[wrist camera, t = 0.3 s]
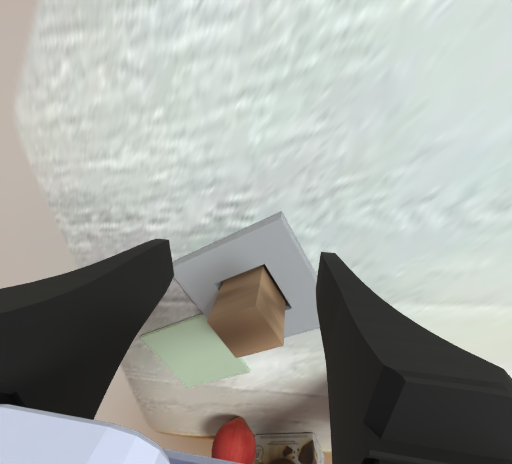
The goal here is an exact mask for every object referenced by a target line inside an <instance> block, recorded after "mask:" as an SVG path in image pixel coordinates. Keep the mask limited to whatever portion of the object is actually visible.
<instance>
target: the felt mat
mask: <svg viewBox="0 0 512 464" xmlns="http://www.w3.org/2000/svg"><path fill="white" fill-rule="evenodd" d="M207 320H208V319H207V318H206V317H205V316H204V314H200V315H198V316H195V317H192V318H189V319H186V320H183V321H181V322H178V323H175V324H172V325H169V326H166V327H164V328H161V329H158V330H155V331H152V332H149V333H147V334H144V335H141V337H140V339H141V340H142V341H143V342H144V343H145V344H146V345H147V346H148V347H149V348H150V349H151V350H152V351H153V352H154V354H155V355H156V356H157V357H158V358H159V359H160V360H161V361H162V362H163V363H164V364H165V365H166V366H167V367H168V368H169V369H170V370H171V371H172V372H173V373H174V374H175V375H176V377H177V378H178V379H179V380H180V381H181V382H182V383H183V384H184V385H185V386H186V387H190V386H194V385H198V384H203V383H207V382H211V381H215V380H220V379H224V378H228V377H232V376H236V375H241V374H245V373H249V372H250V369H249V367H248V366H247V365H246V364H245V362H244V361H243V360H242V358H241V357H239V358H235V356H234V355H233V354H232V353H231V352H230V350H229V349H228V348H227V347H226V345H225V344H224V343H223V342H222V340H221V339H220V338H219V337H218V335H217V334H216V333H215V332H214V330H213V329H212V328H211V327H210V325H209V324H208V323H207Z"/></svg>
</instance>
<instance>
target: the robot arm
mask: <svg viewBox="0 0 512 464" xmlns="http://www.w3.org/2000/svg"><path fill="white" fill-rule="evenodd" d="M173 277H174V269H173V263H172V257H171V251H170V245H169V240H165V239H154V240H151V241H148V242H146V243H143V244H141V245H138V246H136V247H134V248H131V249H129V250H127V251H124V252H122V253H120V254H117V255H115V256H112V257H110V258H107V259H105V260H102V261H100V262H97V263H95V264H92V265H89V266H86V267H83V268H81V269H78V270H74V271H71V272H68V273H65V274H62V275H58V276H54V277H50V278H46V279H42V280H39V281H35V282H31V283H26V284H22V285H17V286H13V287H7V288H2V289H0V464H241V463H236V462H231V461H226V460H220V459H215V458H210V457H205V456H199V455H194V454H189V453H183V452H178V451H172V450H168V449H163V448H161V447H160V446H159V445H158V444H157V443H155V442H154V441H152V440H151V439H149V438H148V437H146V436H144V435H143V434H141V433H140V432H138V431H134V430H131V429H129V428H125V427H122V426H119V425H116V424H112V423H107V422H102V421H96V420H93V419H94V417H95V415H96V413H97V410H98V408H99V406H100V404H101V402H102V399H103V398H104V395H105V393H106V391H107V389H108V387H109V385H110V383H111V381H112V379H113V377H114V375H115V373H116V371H117V369H118V367H119V365H120V363H121V361H122V359H123V358H124V356H125V354H126V352H127V350H128V349H129V347H130V345H131V343H132V341H133V340H134V338H135V336H136V335H137V333H138V332H139V330H140V329H141V327H142V326H143V324H144V323H145V322H146V320H147V319H148V317H149V316H150V314H151V313H152V312H153V310H154V309H155V307H156V306H157V304H158V303H159V301H160V300H161V299H162V297H163V296H164V294H165V293H166V291H167V289H168V287H169V285H170V283H171V281H172V279H173ZM316 306H317V313H318V319H319V325H320V330H321V336H322V342H323V347H324V353H325V360H326V368H327V381H328V395H329V410H330V427H331V445H332V464H512V378H511V377H510V376H509V375H508V374H507V372H506V371H505V370H504V369H503V368H501V367H498V366H496V365H494V364H492V363H490V362H488V361H486V360H484V359H482V358H480V357H478V356H475V355H473V354H471V353H469V352H467V351H465V350H463V349H461V348H459V347H457V346H455V345H453V344H451V343H450V342H448V341H446V340H444V339H442V338H440V337H439V336H437V335H435V334H433V333H432V332H430V331H428V330H427V329H425V328H423V327H421V326H420V325H418V324H417V323H415V322H414V321H412V320H411V319H409V318H407V317H406V316H404V315H403V314H402V313H400V312H399V311H397V310H396V309H394V308H393V307H392V306H390V305H389V304H388V303H387V302H385V301H384V300H383V299H381V298H380V297H379V296H378V295H376V294H375V293H374V292H373V291H372V290H371V289H370V288H369V287H367V286H366V285H365V284H364V283H363V282H362V281H361V280H360V279H359V278H358V277H357V276H356V275H355V274H354V273H353V272H352V271H351V270H350V269H349V268H348V267H347V266H346V264H345V263H344V262H343V261H342V260H341V259H340V258H339V257H338V256H337V255H336V254H335V253H327V252H321V256H320V263H319V269H318V276H317V283H316Z"/></svg>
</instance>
